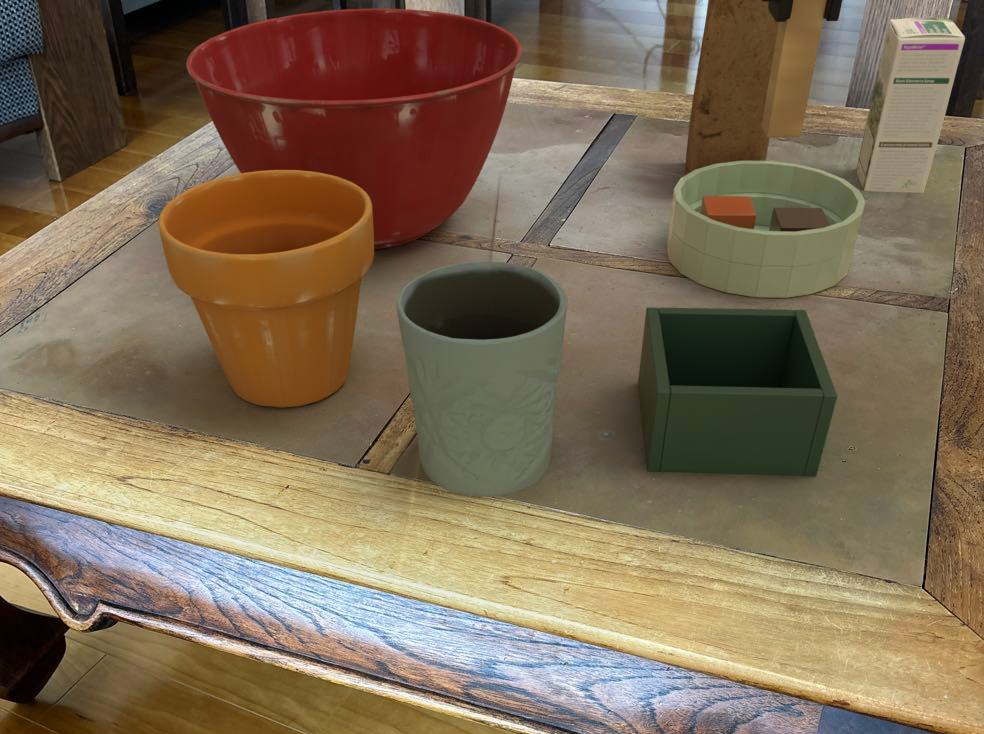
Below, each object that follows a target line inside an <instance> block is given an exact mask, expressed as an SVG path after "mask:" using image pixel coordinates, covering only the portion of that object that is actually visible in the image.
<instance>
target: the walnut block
mask: <svg viewBox="0 0 984 734" xmlns="http://www.w3.org/2000/svg"><path fill="white" fill-rule="evenodd" d="M827 226H830V225H829V222H828V220H827V218H826V216H825V214H824V212H823V210H822V208H773V213H772V218H771V223H770V228H769V231H790V232H796V231H804V230H811V229H819V228H824V227H827Z"/></svg>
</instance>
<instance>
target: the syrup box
mask: <svg viewBox="0 0 984 734" xmlns="http://www.w3.org/2000/svg"><path fill="white" fill-rule="evenodd" d="M965 39H966V37H965V35H964V34H963V33H962V31H961V29H959V27H958V25H956V23H955V22H954V21H953V20H952V19H949V18H939V17H937V18H936V17H908V18H906V17H905V18H897V19H892V18H891V19H890V20H889V23H888V26H887V31H886V34H885V39H884V44H883V48H882V52H881V57H880V61H879V65H878V70H877V74H876V78H875V83H874V89H873V93H872V98H871V102H870V106H869V111H868V115H867V119H866V123H865V127H864V132H863V138H862V142H861V146H860V150H859V151H860V152H859V155H858V160H857V166H856V168H855V169H856V170H855V171H856V173H857V177H858V179H859V182H860V184H861V188H862V190H863V191H864V192H882V193H910V194H917V193H918V194H924V192H925V190H926V186H927V183H928V179H929V175H930V172H931V169H932V165H933V162H934V158H935V154H936V152H937V151H936V150H937V147H938V143H939V140H940V135H941V132H942V127H943V124H944V120H945V116H946V113H947V109H948V106H949V101H950V97H951V93H952V89H953V86H954V82H955V78H956V74H957V70H958V66H959V63H960V59H961V56H962V52H963V48H964V44H965V41H966V40H965Z"/></svg>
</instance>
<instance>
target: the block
mask: <svg viewBox="0 0 984 734" xmlns="http://www.w3.org/2000/svg"><path fill="white" fill-rule="evenodd" d="M778 25H779V22H776V21H775V20H774V18H773V16H772V15H771V13H770V12H769V10H768V2H763V1H762V0H708V4H707V10H706V16H705V23H704V27H703V34H702V39H701V46H700V52H699V57H698V64H697V70H696V76H695V83H694V89H693V90H694V91H693V95H692V96H693V98H692V103H691V111H690V117H689V125H688V135H687V143H686V152H685V166H684V176H685V175H687V174H689V173H690V172H692V171H694V170H696V169H699V168H703V167H706V166H710V165H713V164H717V163H726V162H734V161H767V155H768V150H769V145H770V138H771V137H767V136H766V134H765V131H764V129H763V127H762V120H763V114H764V108H765V102H766V96H767V90H768V85H769V79H770V73H771V67H772V61H773V55H774V49H775V43H776V37H777V31H778Z"/></svg>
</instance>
